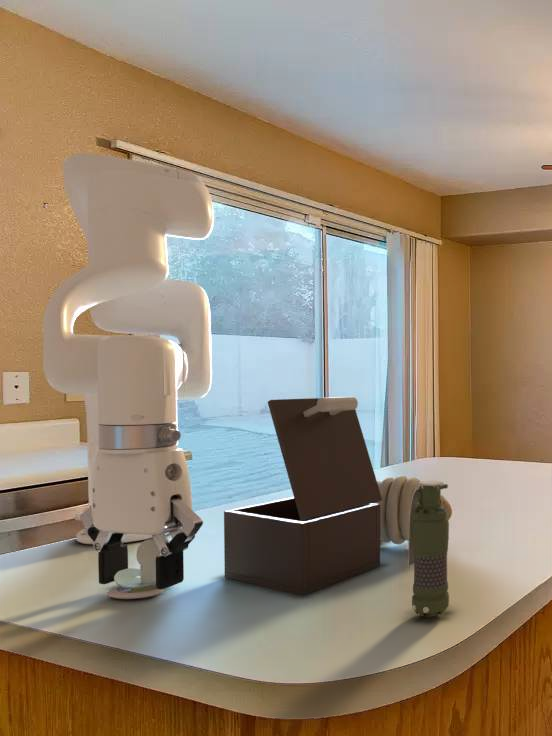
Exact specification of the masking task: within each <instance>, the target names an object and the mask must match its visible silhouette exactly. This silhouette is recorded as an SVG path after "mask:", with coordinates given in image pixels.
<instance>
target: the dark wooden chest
mask: <svg viewBox="0 0 552 736" xmlns="http://www.w3.org/2000/svg"><path fill="white" fill-rule="evenodd" d="M223 540H224V541H223V546H224V547H223V548H224V549H223V550H224V552H223V553H224V557H223V558H224V560H223V561H224V578H226V579H230V580H235V581H239V582H244V583H247V584H251V585H256V586H259V587H265V588H270V589H273V590H278V591H283V592H287V593H291V594H296V595H300V596H305V595H308V594H311V593H313V592H316V591H319V590H321V589H324V588H326V587H329V586H332V585H334V584H336V583H338V582H339V583H340V582H342V581H345V580H347V579H349V578H352V577H355V576H357V575H361V574H362V573H367V572H368V571H371V570H373V569H376V568H378V567H381V543H380V504H376V503H371V504H367V505H363V506H359V507H355V508H351V509H347V510H343V511H339V512H335V513H331V514H327V515H323V516H318V517H314V518H310V519H306V520H302V521H301V520H300V517H299V513H298V509H297V506H296V502H295V499H294V496H292V497H288V498H282V499H277V500H273V501H268V502H263V503H258V504H253V505H248V506H244V507H243V506H242V507H238V508H233V509H227V510H223Z"/></svg>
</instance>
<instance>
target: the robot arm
mask: <svg viewBox="0 0 552 736" xmlns="http://www.w3.org/2000/svg"><path fill="white" fill-rule="evenodd" d="M62 178H63V185H64V186H63V187H64V189H65V193H66V196H67V199H68V202H69V205H70V207H71V210H72V212H73V214H74V217H75V218H76V220H77V223H78V225H79V226H80V228H81V230H82V232H83V235H84V239H85V242H86V246H87V247H86V248H87V265H86V266H85V267H82V268H81V269H80V270H78V271H77V272H75V273H74V274H72V275H70V277H68V278H67V279H66V280H64V282H62V283H61V284H60V286H58V288H57V289H56V290H55V291H54V293H53V294H52V296H51V297H50V298H49V301H48V303H47V305H46V308H45V311H44V314H43V315H44V316H43V325H42V327H43V328H42V329H43V330H42V331H43V334H42V335H43V337H42V339H43V340H42V344H43V345H42V366H43V373H44V376H45V379H46V382H47V383H48V385H49V386H50V387H51V388H52V389H53V390H55V391H57V392H59V393H62V394H66V395H75V396H77V395H78V396H79V395H80V396H81V395H83V400H84V407H85V415H86V416H85V417H86V439H87V441H86V444H87V445H86V446H87V447H86V448H87V483H88V484H87V490H88V491H87V492H88V494H87V495H88V506H87V507H85V508H84V509H83V510H82V512H77V513H75V514H74V516H73V519H74V520H75V521H77V522H81V523H82V525H83V526H84V528H82V529H81V530H79V531H78V532H77V533H76V535H75V537H76V538H75V540H76V541H77V542H78V543H80V544H85V545H92V547H93V549H94V551H96V552H98V553H97V558H98V560H97V561H98V564H97V565H98V584H100V585H107V584H108V585H109V584H110V583H113V582H115V581H114V576H115V575H116V573H117V572H118V571H120V570H124V569H128V568H129V548H128V544H126V543H131V542H139V541H145V540H147V539H154V541H155V543H156V545H157V547H158V549H159V551H160V553H161V555H160V556H157V557H156V587H157V589H165V590H166V589H168V588H170V587H173V586H175V585H178V584H181V583H182V582H183V581H184V580H185V574H184V571H185V570H184V569H185V568H184V551H186V550H187V549H189V545H190V544H191V542H193V540H194V539H195V538H196V535H197V534H198V532H199V531H200V529H201V528H202V526H203V524H204V520H203V519H202V518H201V517H200V516H199V514H197V513H196V512H195V511H194V510H193V497H192V496H193V495H192V487H191V477H190V473H189V467H188V462H187V458H186V455H185V451H184V449H183V448H179V447H178V446H179V445H178V444H179V443H178V442H179V440H181V438H182V433H181V432H180V431H179V430H178V401H182V400H183V401H184V400H197V399H202V398H204V397H205V396H207V395H208V393H209V392H210V390H211V386H212V379H213V378H212V377H213V369H212V367H213V366H212V365H213V364H212V360H213V359H212V329H211V328H212V327H211V325H212V324H211V307H210V302H209V297H208V295H207V292H206V291H205V290H204V288H203V287H202V286H201V285H199V284H198V283H196V282H192V281H188V280H181V279H171V278H168V276H169V261H168V247H167V237H175V238H180V239H189V240H199V241H201V240H205V239H207V238H209V236H210V235H211V233H212V231H213V228H214V221H215V211H214V205H213V200H212V197H211V194H210V192H209V189H208V187H207V186H206V184H205V183H204V182H203V181H202V179H201V178H200V176H198V175H197V174H195V173H194V172H190V171H188V170H182V169H178V168H173V167H167V166H162V165H159V164H153V163H147V162H143V161H138V160H134V159H130V158H123V157H118V156H113V155H108V154H99V153H91V152H90V153H87V152H85V153H84V152H81V153H75V154H71V155H69V156H68V157H66V159H65V160H64V162H63V164H62ZM88 309H89V312H90V317H91V320H92V323H93V324H94V325H95V326H96V327H97V328H98V329H101V330H103V331H106V332H111V333H117V334H116V335H112V334H111V335H110V334H107V335H106V334H84V333H83V334H82V333H81V334H80V333H79V334H78V333H74V323H75V321H76V319H77V317H78V316H80V315H81V314H82V313H83V312H85V311H86V310H88ZM130 334H131V335H130ZM160 336H165V337H166V336H167V337H168V336H169V337H173V338H175V339H177V340H178V342H179V343H177V342H175V341H174V340H171V339H168V338H165V337H160ZM167 535H170V537H171V540H170V541H169V539H168V537H167ZM124 543H125V544H124Z"/></svg>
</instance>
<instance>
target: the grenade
mask: <svg viewBox="0 0 552 736" xmlns="http://www.w3.org/2000/svg"><path fill="white" fill-rule="evenodd" d="M423 481H424V482H421V481H420V482H419V483H417V484H416V486H415V489H414V493H413V496H412V500H411V505H410V513H409V541H408V566H411V565H413V585H412V593H413V594H412V596H411V609H412V610H413V612H415V614H416V615H419V616H421V617H425V618H434V617H436V616H438V615H442V614H443V613H444V612H445V611H446V610H447V609H448V608H449V605H450V594H449V592H448V590H449V581H448V550H449V539H450V522H449V520H448V518H447V512H448V510H447V509H446V508H441V507H445V506H441V499H440V497H441V495H442V492H441V491H442V490H445V489H448V488H449V484H448V483H444V482H443V481H441V480H423Z"/></svg>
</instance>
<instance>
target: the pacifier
mask: <svg viewBox="0 0 552 736" xmlns="http://www.w3.org/2000/svg"><path fill="white" fill-rule="evenodd" d="M160 555H161V553H160V551H159V549H158V547H157V545H156V543H155V541H154V539H153V538H149V539H144V540H142V542H141V543H140V544H139V545H138V548H137V550H136V560H137V562H138V564H139V566H140V568H133V567H131V568H129V567H128V569H124V570H120V571H118V572H117V573H116V575H115V576H114V581H113V582H114V583H115V584H116V585H117V586H115V587H112V588H110V589H108V591H107V592H106V595H107V596H109V597H110V598H112V599H113V598H114V599H120V600H121V599H122V600H134V599H144V598H149V597H153V596H157V595H159V594H161V593H163V592H165V590H166V588H165V589H157V587H156V557H157V556H160ZM124 591H130V592H124Z"/></svg>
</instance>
